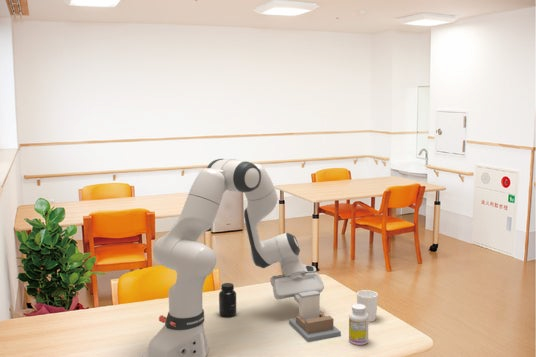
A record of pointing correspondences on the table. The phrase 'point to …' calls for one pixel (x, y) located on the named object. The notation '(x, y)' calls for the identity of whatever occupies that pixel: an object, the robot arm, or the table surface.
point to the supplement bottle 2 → (358, 325)
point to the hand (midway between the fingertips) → (303, 305)
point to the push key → (309, 305)
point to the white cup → (368, 302)
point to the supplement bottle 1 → (227, 300)
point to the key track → (314, 335)
